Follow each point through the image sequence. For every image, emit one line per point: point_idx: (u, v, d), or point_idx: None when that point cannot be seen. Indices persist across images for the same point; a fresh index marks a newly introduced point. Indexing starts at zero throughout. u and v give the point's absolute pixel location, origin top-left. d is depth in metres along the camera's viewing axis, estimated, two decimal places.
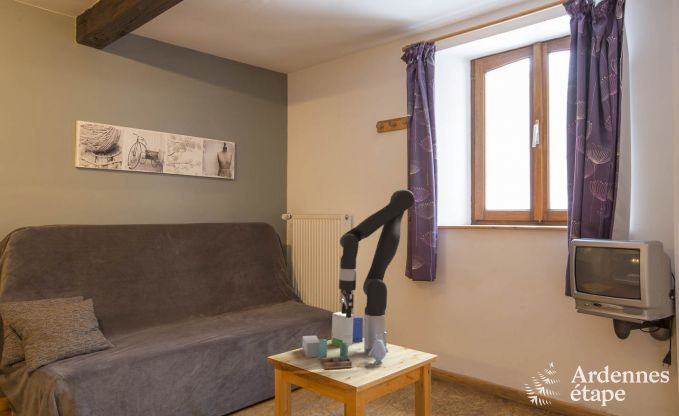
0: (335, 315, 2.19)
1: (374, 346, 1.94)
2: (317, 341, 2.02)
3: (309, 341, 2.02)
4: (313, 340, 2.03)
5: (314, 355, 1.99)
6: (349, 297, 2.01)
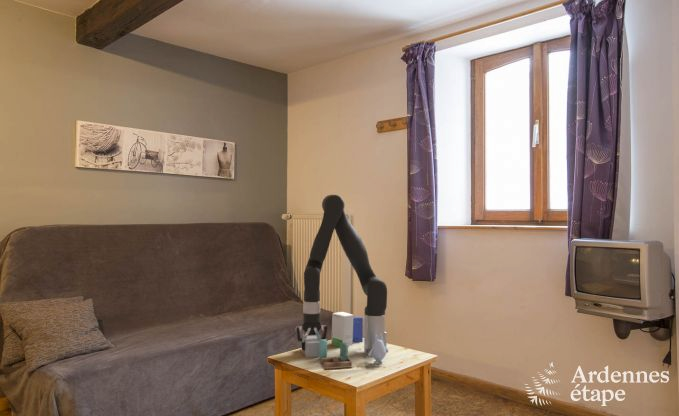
0: (335, 315, 2.19)
1: (374, 346, 1.94)
2: (317, 341, 2.02)
3: (309, 341, 2.02)
4: (313, 340, 2.03)
5: (314, 355, 1.99)
6: None
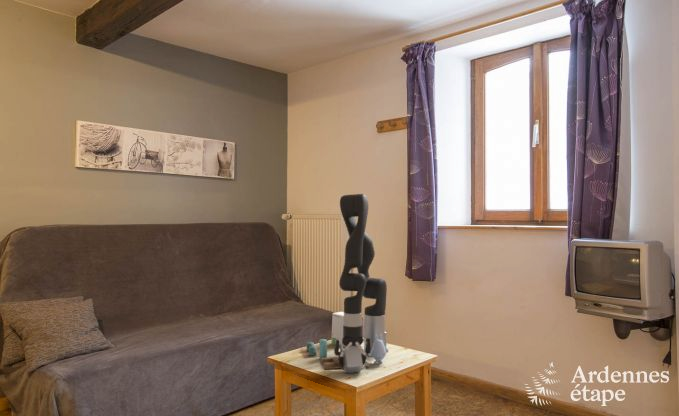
0: (335, 315, 2.19)
1: (374, 346, 1.94)
2: (359, 361, 1.81)
3: (350, 360, 1.81)
4: (355, 356, 1.82)
5: (353, 371, 1.83)
6: None
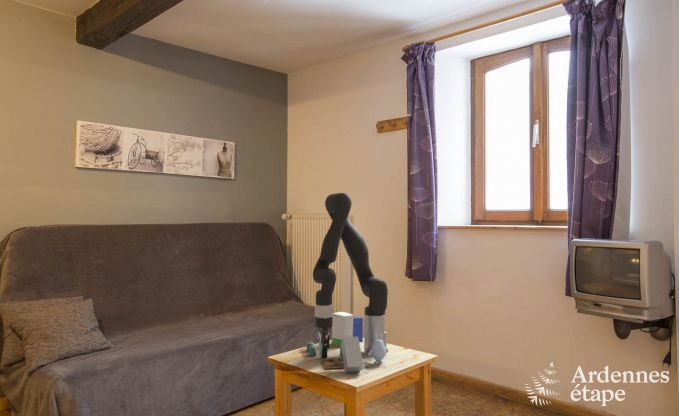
0: (335, 315, 2.19)
1: (374, 346, 1.94)
2: (359, 361, 1.81)
3: (350, 360, 1.81)
4: (355, 356, 1.82)
5: (353, 371, 1.84)
6: None
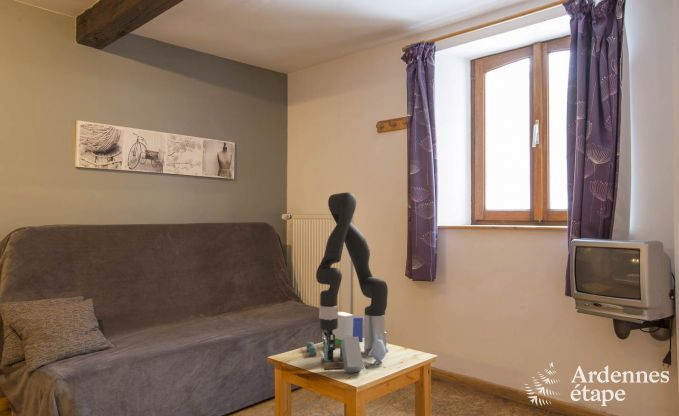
0: None
1: (374, 346, 1.94)
2: (359, 361, 1.81)
3: (350, 360, 1.81)
4: (355, 356, 1.82)
5: (353, 371, 1.84)
6: None
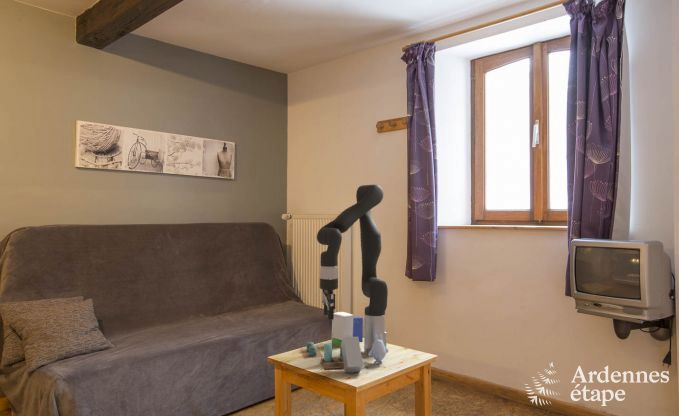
0: (335, 315, 2.19)
1: (374, 346, 1.94)
2: (359, 361, 1.81)
3: (350, 360, 1.81)
4: (355, 356, 1.82)
5: (353, 371, 1.84)
6: None
